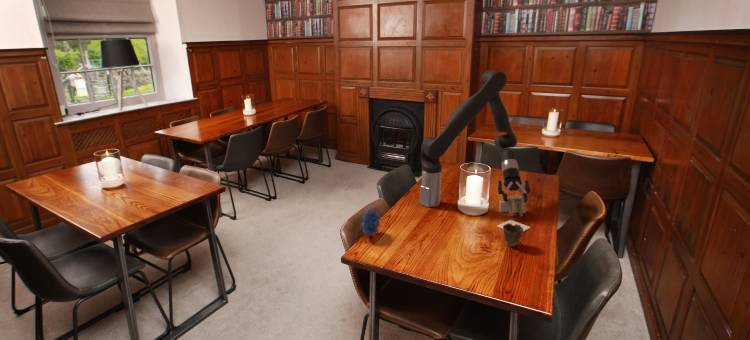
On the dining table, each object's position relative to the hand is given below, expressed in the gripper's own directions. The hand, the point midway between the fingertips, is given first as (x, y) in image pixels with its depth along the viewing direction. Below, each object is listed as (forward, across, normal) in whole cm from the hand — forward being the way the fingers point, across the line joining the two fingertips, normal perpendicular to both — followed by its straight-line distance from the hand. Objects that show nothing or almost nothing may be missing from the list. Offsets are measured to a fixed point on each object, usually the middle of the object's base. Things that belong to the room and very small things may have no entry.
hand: (515, 202), depth 184 cm
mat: (+14, -5, -5) cm, 16 cm away
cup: (+26, -11, -17) cm, 32 cm away
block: (+2, 0, +7) cm, 7 cm away
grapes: (+20, -66, -11) cm, 70 cm away
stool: (+5, 0, +3) cm, 6 cm away
